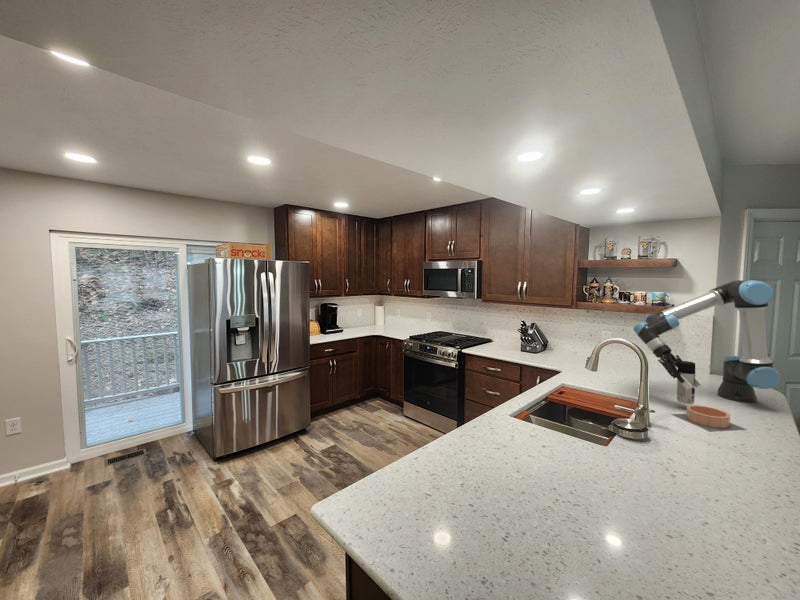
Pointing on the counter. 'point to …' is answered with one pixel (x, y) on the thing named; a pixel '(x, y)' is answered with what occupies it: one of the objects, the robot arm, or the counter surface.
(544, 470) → the counter surface
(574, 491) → the counter surface
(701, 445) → the counter surface
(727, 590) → the counter surface
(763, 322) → the robot arm
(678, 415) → the mat
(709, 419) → the bowl
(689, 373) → the spray can
